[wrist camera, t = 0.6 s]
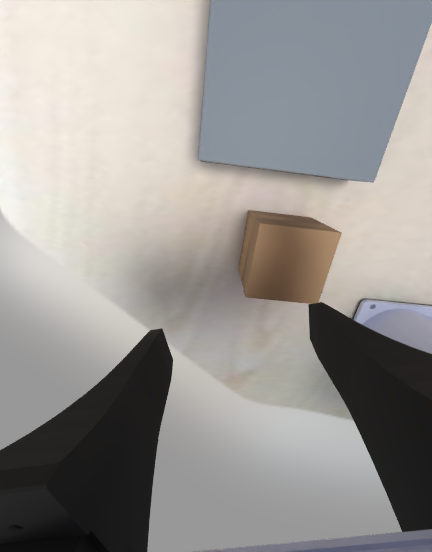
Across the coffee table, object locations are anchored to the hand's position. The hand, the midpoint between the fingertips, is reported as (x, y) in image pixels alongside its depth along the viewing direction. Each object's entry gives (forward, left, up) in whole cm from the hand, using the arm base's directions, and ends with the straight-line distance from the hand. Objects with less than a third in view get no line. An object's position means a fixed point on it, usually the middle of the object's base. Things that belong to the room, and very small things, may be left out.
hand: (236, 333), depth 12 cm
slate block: (-3, -13, -10) cm, 17 cm away
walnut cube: (-4, -2, -10) cm, 10 cm away
